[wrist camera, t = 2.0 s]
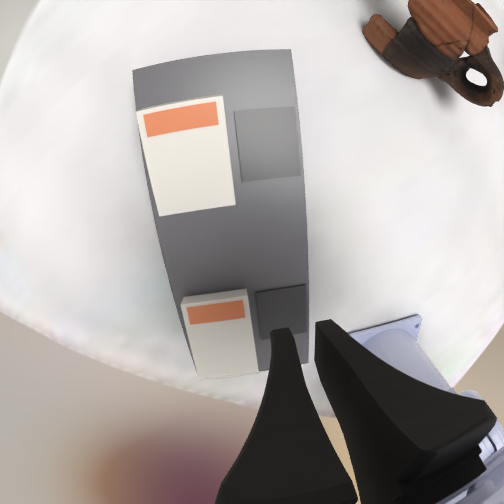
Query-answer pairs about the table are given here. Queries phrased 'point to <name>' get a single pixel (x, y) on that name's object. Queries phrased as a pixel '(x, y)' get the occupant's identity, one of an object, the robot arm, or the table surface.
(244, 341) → the block
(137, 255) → the table surface
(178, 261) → the power strip
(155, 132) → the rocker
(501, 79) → the pottery mug
